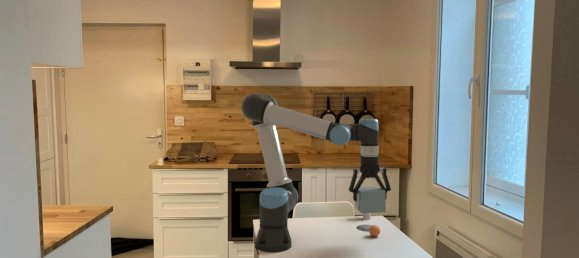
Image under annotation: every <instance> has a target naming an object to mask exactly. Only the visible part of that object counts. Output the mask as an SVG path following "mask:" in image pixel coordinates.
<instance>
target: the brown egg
mask: <svg viewBox="0 0 579 258" xmlns="http://www.w3.org/2000/svg"><path fill="white" fill-rule="evenodd" d="M371 225H372V226H371V227H370V228H369V231H368V233H369V234H370V236H372V237H379V235H380V234H381V228H380V227H379V226H378V225H376V224H371Z"/></svg>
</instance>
